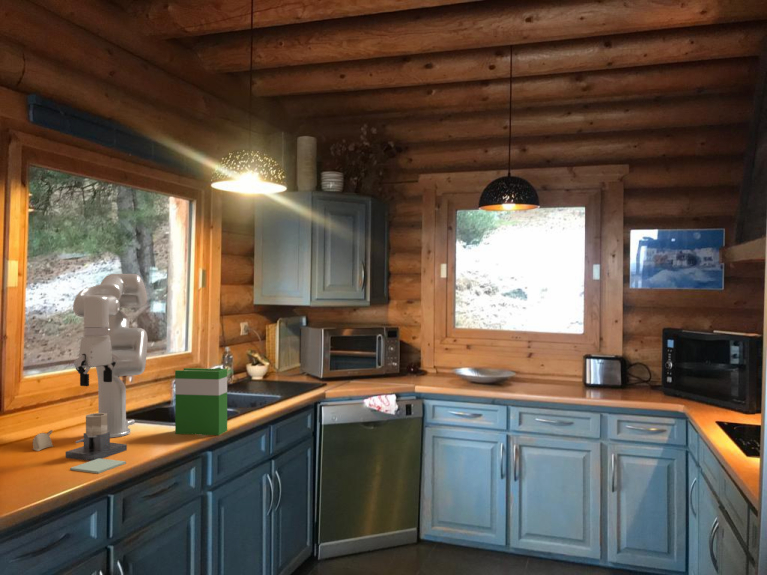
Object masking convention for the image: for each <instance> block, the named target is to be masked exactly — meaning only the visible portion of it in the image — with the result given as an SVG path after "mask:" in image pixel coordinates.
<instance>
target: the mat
mask: <svg viewBox="0 0 767 575" xmlns="http://www.w3.org/2000/svg"><path fill="white" fill-rule="evenodd" d="M126 464H127V461H123V460H116V459H106V458H102V459H101V458H98V459H95V460H92V461H86V462H84V463H81V464H78V465H75V466H71V467H69V470H70V471H77V472H84V473H92V474H101V473H104V472H107V471H110V470H112V469H115V468H117V467H121V466H122V465H126Z"/></svg>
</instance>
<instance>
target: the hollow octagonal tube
mask: <svg viewBox="0 0 767 575" xmlns="http://www.w3.org/2000/svg"><path fill="white" fill-rule="evenodd" d="M85 433H86V435H101V434H105V433H107V413H98V412H97V413H96V412H95V413H89V414H86V415H85Z"/></svg>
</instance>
